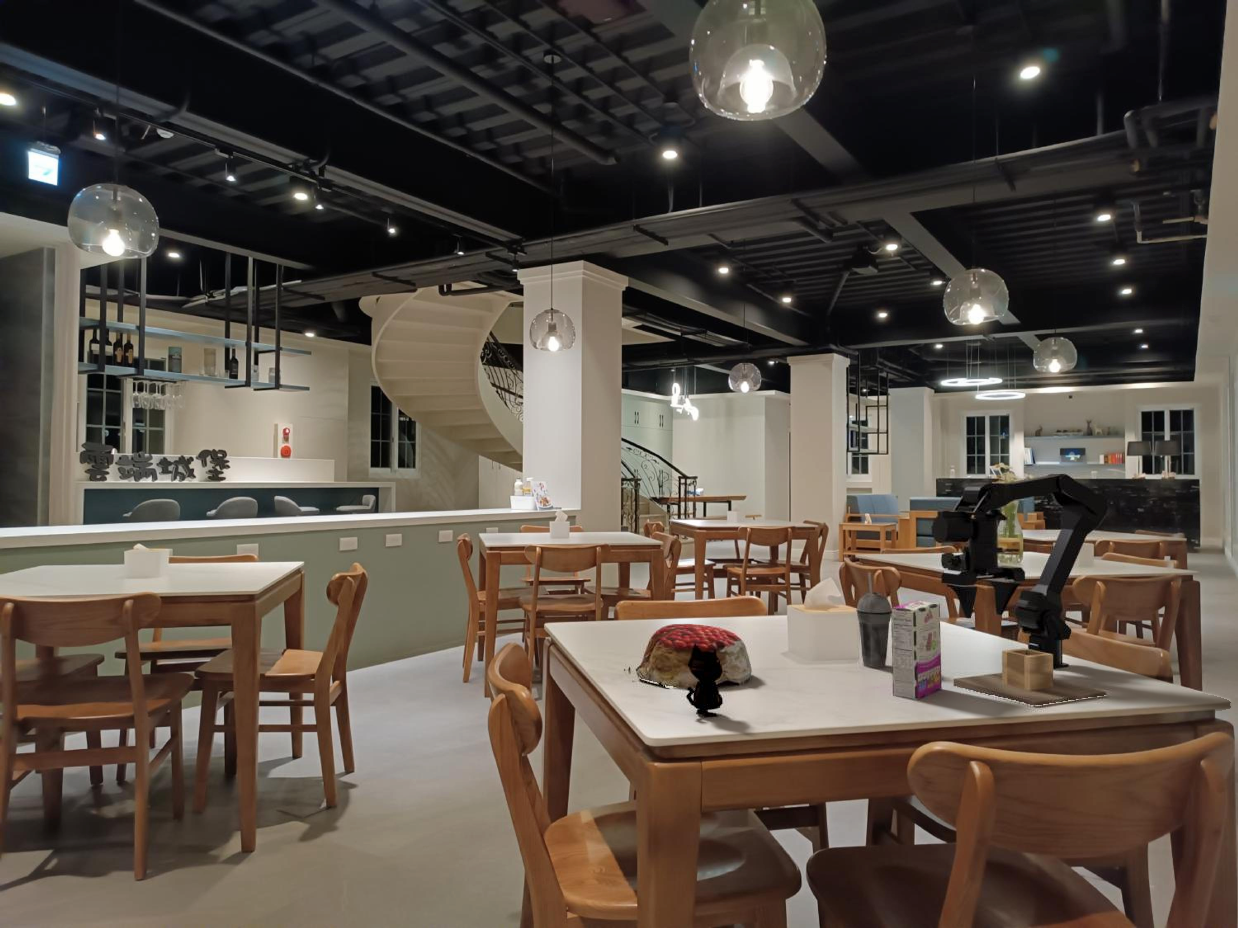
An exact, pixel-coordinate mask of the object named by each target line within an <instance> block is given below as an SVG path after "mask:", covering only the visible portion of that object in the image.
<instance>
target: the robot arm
mask: <svg viewBox="0 0 1238 928" xmlns="http://www.w3.org/2000/svg"><path fill="white" fill-rule="evenodd" d="M1045 495H1046V496H1047V495H1051V496H1052V499H1053V500H1054V502H1055V504H1057V505H1059V507H1061V511H1060V515H1059V516H1060V521H1061V529H1060V531H1059V534H1058V536H1057V538H1056V540H1055V543H1054V545H1053V548H1052V550H1051V552H1050V554H1049V556H1048V558H1047V561H1046V564H1045V565H1044V567H1043V570H1042V572H1041V574H1040V576H1039V579H1038V581H1037V583H1036V585H1035V586H1034V587H1033V588H1031V589H1025V588H1023V589H1022V590H1021V592H1020V595H1019V598H1018V600H1017V602H1016V603H1014V606H1015V607H1016V608H1015V611H1014V615H1015V618H1016V620H1017V622H1018V624H1019V625H1020V628H1021V631H1022V633H1023V634H1028V643H1027V649H1031V650H1035V651H1040V652H1044V653H1049V654H1053V669H1059V668H1066V667H1067V668H1069V666H1070V663H1066V662H1063V641H1064V640H1070V638H1071V634H1072V631H1073V630H1072V628H1070V626H1069V625H1068V624H1067V623H1066V622H1065V621H1064V620H1063V618H1061V617H1062V613H1063V610H1064V609H1063V604H1062V603H1063V601H1062V593H1063V590H1064V588H1065V586H1066V584H1067V581H1068V579H1069V576H1070V574H1071V573H1072V571H1073V568H1074V566H1075V564H1076V562H1077V559H1078V557H1079V554H1080V552H1081V550H1082V548H1083V546H1084V543H1085V540H1086V538H1087V536H1089V534H1091V533H1092V532H1093V531H1094V530H1096V528H1098V527H1099V526H1100V525H1101V524H1102V522H1103V520H1104V519H1105V517H1106V516H1107V514H1108V512H1109V508H1110V507H1109V505H1108V501H1107V500H1106V498H1105V497H1104V495H1102V494H1100V493H1097V492H1095V490H1093V489H1092V488H1090V487H1088V486H1086V485H1084V484H1082V483H1080V482H1078V481H1077V480H1075V479H1074V478H1073V477H1072V476H1070V475H1068V474H1067V473H1049V474H1048V475H1043V476H1038V477H1032V478H1027V479H1021V480H1015V481H1010V482H1002V483H1001V482H1000V483H999V482H971V483H968V484H967V485H965V488H964V490H963V493H962V496H961V497H960V498H959V500H958V502H957V503H956V505H955V506H954V508H953V509H952V510H942V509H941V510H937V516H936V517H935V518H934V519H933V522H932V525H931V534H932V537H933V539H934V541H936V543H938V544H957V543H958V544H959V543H967V544H968V545H967V546H963V548H962V553H961V554H954V553H953V552H945V553H941V559H940V562H941V566H942V568H943V571H942V572H941V573H940V575H941V576H940V577H941V578H940V579H941V581H940V582H941V583H942V584H945V586H946V587H947V588H950V589H951V590H952V591H953V592H954V593H955V595H956V597H957V599H958V601H959V604H960V607H961V609H962V612H963V615H964V617H965V618H966V619H971V618H972V615H973V612H974V607H975V604H976V603H975V602H976V597H977V591H978V585H977V586H976V585H975V584H976V583H977V581H982V580H983V581H986V580H988V582H989V584H991V586H992V588H993V589H994V602H995V603H994V604H995V605H994V606H995V611H996V615H998V616H1003V614H1004V612H1005V610H1006V608H1007V606H1008V604H1009V602H1010V601H1011V598H1012V597H1013V596H1014V593H1015V592H1016V590H1017V589H1018V588H1019V586H1021V585H1022V582H1024V581H1025V582H1026V571H1025V570H1024V569H1023V568H1022V567H1020V566H1011V565H999V553H1001V554H1002V553H1003V546H1002V547H999V535H998V526H999V524H998V521H1001V522H1002V521H1004V522H1005V521H1007V520H1008V517H1007V516H1006V515H1005V514H1004V513H1002V512H1001V510H1000V508H1003V507H1005V506H1008V505H1009V504H1010V503H1011V502H1015V501H1017V500H1023V499H1027V498H1028V499H1029V498H1035V497H1041V496H1045Z"/></svg>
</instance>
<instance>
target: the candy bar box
mask: <svg viewBox="0 0 1238 928" xmlns="http://www.w3.org/2000/svg"><path fill="white" fill-rule="evenodd" d="M940 604H941V603H939V602H933V601H932V602H931V601H922V600H915V601H912V602H908V603H904V604H901V605H898V606H893V607H891V619H890V622H891V627H890V628H891V629H890V630H891V655H892V656H891V658H892V659H891V661H892V664H891V665H892V666H891V668H892V696H893V697H899V698H904V697H905V698H906V699H909V700H915V701H916V700H917V701H918V700H920V699H922V698H924V697H927V696H929V695H931V694H934V693H936V692H939V691H940V690H942V689H943V686H942V649H941V647H942V646H941V643H942V642H941V641H942V640H941V639H942V638H941V609H940V608H941V607H940V606H941V605H940ZM926 695H927V696H926Z"/></svg>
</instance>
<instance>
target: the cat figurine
mask: <svg viewBox="0 0 1238 928" xmlns="http://www.w3.org/2000/svg"><path fill="white" fill-rule="evenodd" d="M688 667H689V669H690V671H691V673H692V674H693V675H694V676H695V677H696V678H697V679H698V680H699V681H697V684H696V688H691V687H688V688H685V689H686V690H687V691H688V693H687V695H686V696H685V697H686V699H687V701H688V702H689V704H690V705H691V706H693V707H694V708H695V709H697V710H696V713H695V714H696V715H703V717H704V718H715V717H716V718H717V717H719V716H718V714H717V713H716V712H713V710H716V709H717V710H718V709H720V708H721V706H722V705H723V704H724V701H723V696H722V695H721V694H720V691H719V688H718V684H716V682H715V681H716V680H717V679H719V678H720V677H721V674H722V672H726V671H723V669H722V664H720V660H719V659H718V657H717V655H716V649H715V651H714V652H708V651H705V652H702V651H701V650H700V649H699V647H698V646H697V645H696V644H694V647H693V651H692V654H691V658H690V660H689V663H688ZM723 674H724V673H723ZM724 675H725V674H724ZM725 676H726V675H725ZM726 677H727V676H726ZM727 678H728V677H727ZM728 680H729V679H728ZM728 680H727V681H728ZM711 710H712V711H711Z"/></svg>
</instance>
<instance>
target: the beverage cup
mask: <svg viewBox="0 0 1238 928" xmlns="http://www.w3.org/2000/svg"><path fill="white" fill-rule="evenodd" d="M867 575H868V585H869V592H867V593H865V594H864V595H862V597H861V598H860V599H858V603H857V608H856V614H857V620H858V625H859V634H860V647H861V648H860V649H861V658H862V662H863V666H864V667H867V668H871V669H883V668H886V662H887V657H888V655H887V654H888V645H889V632H890V631H889V630H890V622H891V608H892V607H891V603H890V601H889V600H888V598H887V597H886V596H885V595H883V594H882V593H879V592H873V582H872V573H871V571H868V573H867Z"/></svg>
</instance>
